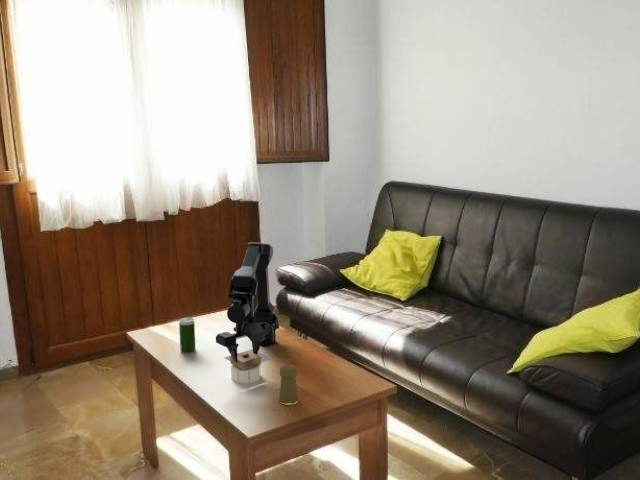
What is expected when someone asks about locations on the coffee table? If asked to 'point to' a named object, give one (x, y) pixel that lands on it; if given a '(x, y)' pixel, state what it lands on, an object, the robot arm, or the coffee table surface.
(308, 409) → the coffee table surface
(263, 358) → the mat
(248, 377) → the bowl
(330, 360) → the coffee table surface
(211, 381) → the coffee table surface
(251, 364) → the lid
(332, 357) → the coffee table surface
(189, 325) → the beer can
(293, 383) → the green shaker
